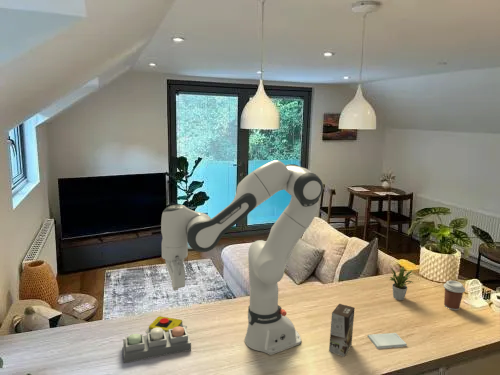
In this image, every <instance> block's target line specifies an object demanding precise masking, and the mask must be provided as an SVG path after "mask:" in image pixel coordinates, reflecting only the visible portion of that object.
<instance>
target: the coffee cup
mask: <svg viewBox="0 0 500 375" xmlns="http://www.w3.org/2000/svg"><path fill="white" fill-rule="evenodd" d="M442 286H443V288H444V298H443V299H444V301H443V302H444V303H443V306H444V305H445V306H444V307H445V308H446V307H447V309H448V308H449V309H448V310H451V309H452V310H451V311H459V310H460V306H461V303H462V299H463V294H464V293H465V292H466V288H465V287H464V285H463V284H462V283H461V282H460V281H456V280H447V281H446V282H445V283H443V285H442ZM458 309H459V310H458Z"/></svg>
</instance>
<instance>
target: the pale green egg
mask: <svg viewBox="0 0 500 375" xmlns="http://www.w3.org/2000/svg"><path fill="white" fill-rule="evenodd" d="M127 337H128V336H127ZM128 342H129V345H134V344H139V343H141V335H140V333H132V334H130V335H129V337H128Z"/></svg>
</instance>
